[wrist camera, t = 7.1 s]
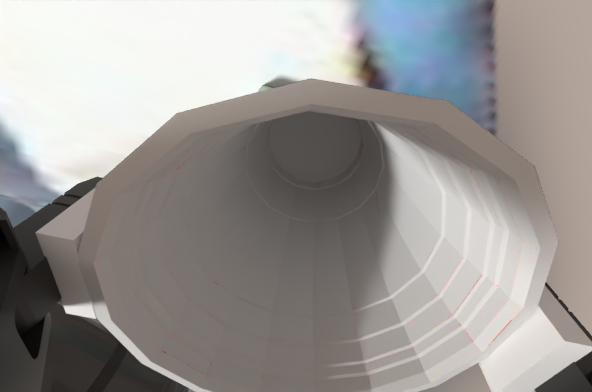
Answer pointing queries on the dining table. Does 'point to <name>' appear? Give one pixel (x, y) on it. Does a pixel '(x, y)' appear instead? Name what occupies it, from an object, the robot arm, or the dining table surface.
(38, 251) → the robot arm
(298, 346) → the plastic cup
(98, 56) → the dining table surface
